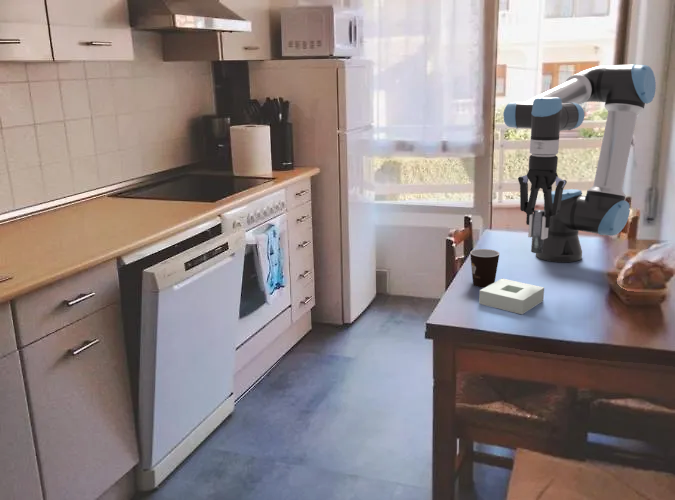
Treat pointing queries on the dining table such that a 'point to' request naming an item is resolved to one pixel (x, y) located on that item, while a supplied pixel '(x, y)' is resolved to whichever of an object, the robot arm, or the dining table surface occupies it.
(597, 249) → the dining table surface
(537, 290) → the hole block
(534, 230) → the peg
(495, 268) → the coffee mug
